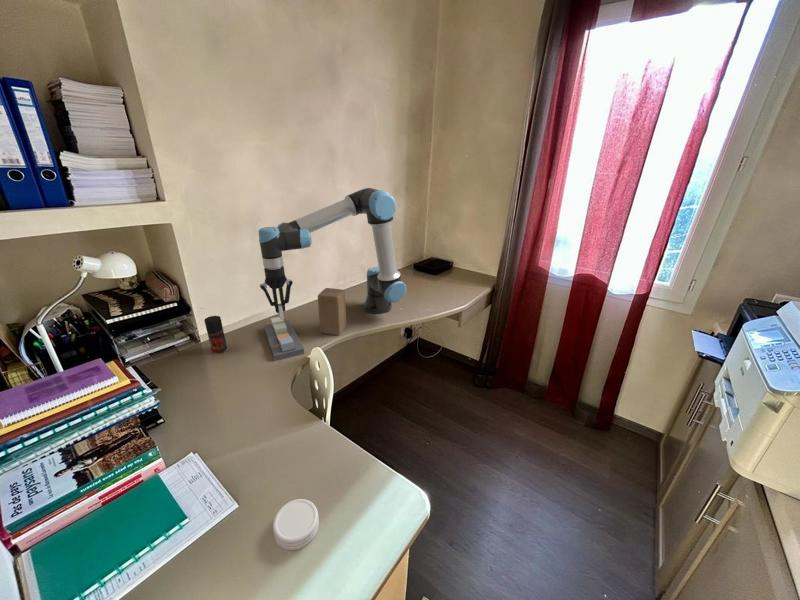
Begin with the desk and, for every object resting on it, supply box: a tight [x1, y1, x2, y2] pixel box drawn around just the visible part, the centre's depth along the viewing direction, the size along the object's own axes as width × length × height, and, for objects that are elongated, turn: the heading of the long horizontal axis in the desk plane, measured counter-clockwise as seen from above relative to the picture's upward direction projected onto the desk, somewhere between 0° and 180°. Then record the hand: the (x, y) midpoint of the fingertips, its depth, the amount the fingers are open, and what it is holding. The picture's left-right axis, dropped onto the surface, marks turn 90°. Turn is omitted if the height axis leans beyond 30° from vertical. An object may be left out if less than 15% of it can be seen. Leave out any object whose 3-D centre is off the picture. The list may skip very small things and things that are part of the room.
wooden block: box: [317, 287, 347, 336], centre depth 159 cm, size 10×10×20 cm
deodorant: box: [204, 315, 228, 354], centre depth 142 cm, size 6×6×15 cm
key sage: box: [273, 322, 287, 337], centre depth 154 cm, size 5×5×4 cm
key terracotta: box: [276, 333, 290, 344], centre depth 149 cm, size 5×5×4 cm
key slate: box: [279, 336, 294, 352], centre depth 142 cm, size 5×5×4 cm
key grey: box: [270, 316, 285, 330], centre depth 159 cm, size 5×5×4 cm
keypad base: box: [263, 319, 305, 361], centre depth 152 cm, size 12×29×2 cm, turn 28°
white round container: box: [272, 498, 320, 551], centre depth 78 cm, size 10×10×4 cm
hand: (281, 318), depth 145 cm, fingers closed
